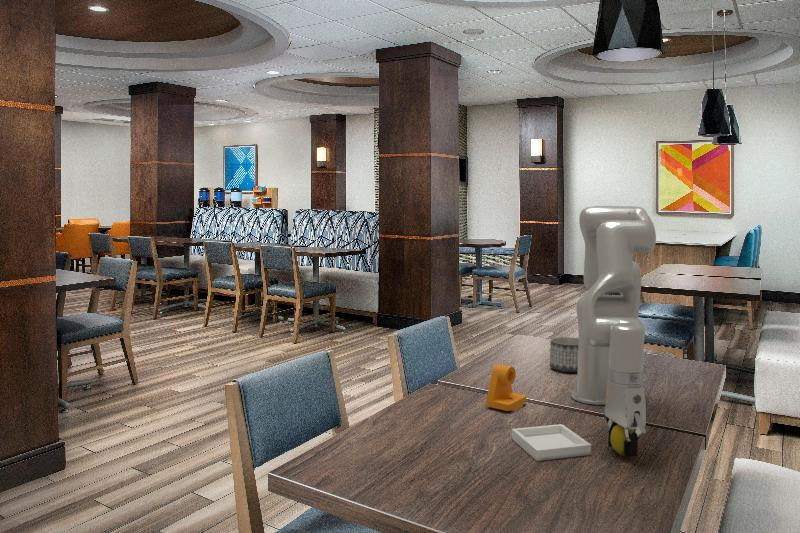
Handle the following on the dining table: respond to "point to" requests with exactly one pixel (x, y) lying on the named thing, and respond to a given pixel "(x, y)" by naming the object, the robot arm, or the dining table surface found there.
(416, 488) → the dining table surface
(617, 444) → the lemon
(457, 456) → the dining table surface
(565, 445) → the tray
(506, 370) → the bracket
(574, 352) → the planter
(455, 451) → the dining table surface
